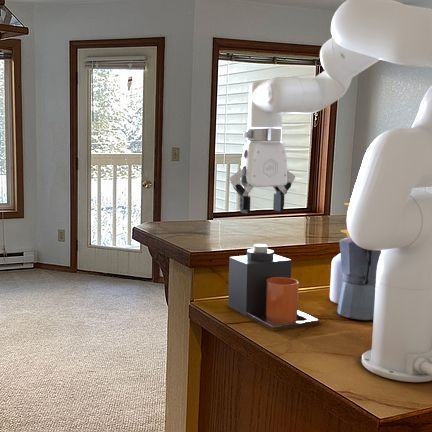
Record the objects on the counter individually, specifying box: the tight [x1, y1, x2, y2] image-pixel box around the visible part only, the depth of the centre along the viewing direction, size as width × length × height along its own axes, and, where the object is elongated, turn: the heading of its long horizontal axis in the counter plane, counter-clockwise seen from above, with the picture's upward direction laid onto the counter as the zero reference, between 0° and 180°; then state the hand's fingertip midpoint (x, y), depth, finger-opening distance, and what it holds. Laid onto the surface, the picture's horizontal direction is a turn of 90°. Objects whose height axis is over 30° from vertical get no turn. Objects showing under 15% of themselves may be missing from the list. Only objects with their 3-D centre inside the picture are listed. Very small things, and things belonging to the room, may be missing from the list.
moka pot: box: [336, 237, 382, 321], centre depth 125 cm, size 10×15×20 cm, turn 174°
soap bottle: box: [329, 202, 350, 305], centre depth 136 cm, size 9×9×25 cm
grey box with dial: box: [227, 248, 293, 317], centre depth 131 cm, size 8×12×14 cm, turn 112°
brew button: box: [253, 243, 269, 253], centre depth 130 cm, size 3×3×2 cm
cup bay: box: [245, 309, 320, 332], centre depth 124 cm, size 10×12×1 cm
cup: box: [265, 277, 300, 324], centre depth 123 cm, size 7×7×9 cm
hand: (261, 211), depth 129 cm, fingers open, 8 cm apart
